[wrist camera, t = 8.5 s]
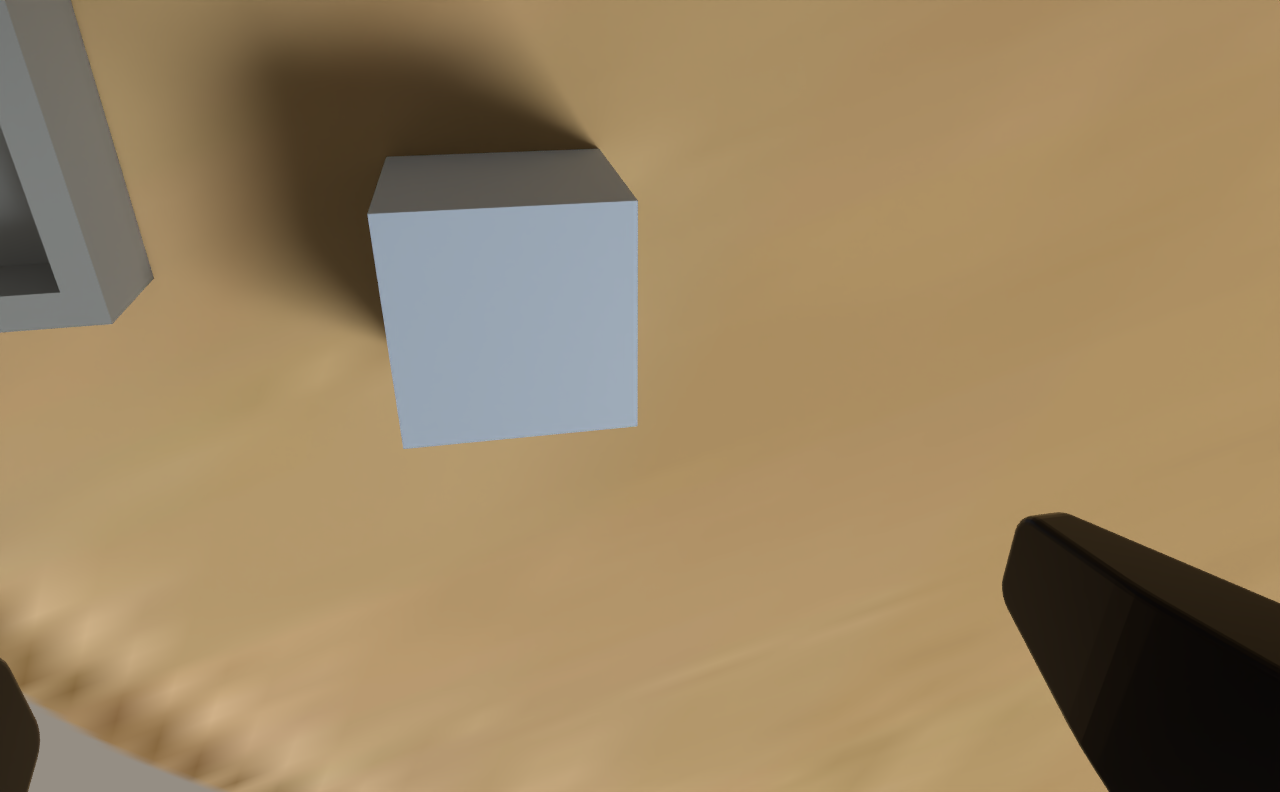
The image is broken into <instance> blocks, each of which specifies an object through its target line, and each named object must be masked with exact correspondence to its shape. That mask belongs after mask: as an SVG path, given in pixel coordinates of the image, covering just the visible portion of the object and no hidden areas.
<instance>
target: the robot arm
mask: <svg viewBox="0 0 1280 792" xmlns="http://www.w3.org/2000/svg"><path fill="white" fill-rule="evenodd" d="M1002 591H1003V597H1004V600H1005V604H1006V606H1007V608H1008V610H1009V612H1010V614H1011V616H1012V618H1013V620H1014V622H1015V624H1016V626H1017V628H1018V630H1019V632H1020V633H1021V635H1022V637H1023V639H1024V641H1025V643H1026V645H1027V647H1028V649H1029V651H1030V653H1031V655H1032V656H1033V658H1034V660H1035V662H1036V664H1037V666H1038V668H1039V670H1040V672H1041V674H1042V676H1043V678H1044V680H1045V681H1046V683H1047V685H1048V687H1049V689H1050V691H1051V693H1052V695H1053V697H1054V699H1055V701H1056V703H1057V704H1058V706H1059V708H1060V710H1061V712H1062V714H1063V716H1064V718H1065V720H1066V722H1067V724H1068V725H1069V727H1070V729H1071V731H1072V732H1073V734H1074V736H1075V738H1076V740H1077V741H1078V743H1079V745H1080V747H1081V748H1082V750H1083V752H1084V753H1085V755H1086V756H1087V758H1088V760H1089V761H1090V763H1091V765H1092V766H1093V768H1094V769H1095V771H1096V773H1097V774H1098V776H1099V777H1100V779H1101V780H1102V782H1103V783H1104V785H1105V786H1106V788H1107V790H1108V791H1109V792H1280V603H1278V602H1275V601H1273V600H1271V599H1268V598H1266V597H1264V596H1261V595H1259V594H1257V593H1254V592H1252V591H1250V590H1247V589H1245V588H1242V587H1240V586H1238V585H1235V584H1233V583H1231V582H1228V581H1226V580H1224V579H1221V578H1219V577H1217V576H1214V575H1212V574H1209V573H1207V572H1205V571H1202V570H1200V569H1198V568H1195V567H1193V566H1191V565H1188V564H1186V563H1184V562H1181V561H1179V560H1176V559H1174V558H1172V557H1169V556H1167V555H1165V554H1162V553H1160V552H1158V551H1155V550H1153V549H1151V548H1148V547H1146V546H1143V545H1141V544H1139V543H1136V542H1134V541H1132V540H1129V539H1127V538H1125V537H1122V536H1120V535H1118V534H1115V533H1113V532H1110V531H1108V530H1106V529H1103V528H1101V527H1099V526H1096V525H1094V524H1092V523H1089V522H1087V521H1085V520H1082V519H1080V518H1077V517H1075V516H1073V515H1070V514H1067V513H1061V512H1057V513H1049V514H1041V515H1034V516H1028V517H1026V518H1024V519H1022V520H1021V522H1020V523H1019V524H1018V525H1017V528H1016V530H1015V534H1014V538H1013V542H1012V545H1011V549H1010V553H1009V557H1008V561H1007V564H1006V568H1005V572H1004V576H1003V581H1002ZM39 745H40V734H39V728H38V724H37V721H36V719H35V717H34V715H33V713H32V711H31V709H30V707H29V705H28V703H27V701H26V699H25V697H24V695H23V693H22V691H21V689H20V687H19V685H18V683H17V681H16V679H15V677H14V675H13V673H12V671H11V670H10V668H9V666H8V665H7V663H6V662H5V661H4V660H2V659H1V658H0V792H28V789H29V786H30V782H31V779H32V775H33V772H34V768H35V765H36V761H37V757H38V753H39Z"/></svg>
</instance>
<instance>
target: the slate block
mask: <svg viewBox="0 0 1280 792" xmlns="http://www.w3.org/2000/svg"><path fill="white" fill-rule="evenodd" d="M367 215H368V222H369V228H370V235H371V241H372V248H373V254H374V261H375V267H376V274H377V280H378V287H379V293H380V300H381V306H382V312H383V319H384V325H385V332H386V338H387V345H388V351H389V358H390V364H391V371H392V377H393V384H394V390H395V397H396V403H397V410H398V416H399V423H400V429H401V436H402V442H403V449H408V448H418V447H428V446H438V445H449V444H459V443H469V442H480V441H490V440H500V439H510V438H521V437H531V436H541V435H552V434H562V433H572V432H582V431H593V430H603V429H613V428H624V427H634V426H637V351H638V200H637V199H636V198H635V196H634V195H633V194H632V192H631V191H630V190H629V188H628V187H627V186H626V184H625V183H624V182H623V180H622V179H621V178H620V176H619V175H618V173H617V172H616V171H615V169H614V168H613V167H612V165H611V164H610V163H609V161H608V160H607V159H606V157H605V156H604V155H603V153H602V152H601V151H600V149H576V150H550V151H524V152H498V153H472V154H445V155H419V156H393V157H386V159H385V162H384V165H383V168H382V171H381V174H380V177H379V180H378V183H377V186H376V189H375V192H374V195H373V198H372V201H371V204H370V207H369V210H368V214H367Z"/></svg>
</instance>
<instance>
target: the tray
mask: <svg viewBox="0 0 1280 792" xmlns="http://www.w3.org/2000/svg"><path fill="white" fill-rule="evenodd" d="M153 279H154V277H153V274H152V271H151V267H150V264H149V261H148V257H147V254H146V250H145V247H144V244H143V240H142V237H141V234H140V230H139V227H138V224H137V220H136V217H135V214H134V210H133V207H132V204H131V200H130V197H129V194H128V190H127V187H126V184H125V180H124V177H123V174H122V170H121V167H120V164H119V160H118V157H117V153H116V150H115V147H114V143H113V140H112V137H111V133H110V130H109V127H108V123H107V120H106V117H105V113H104V110H103V107H102V103H101V100H100V97H99V93H98V90H97V87H96V83H95V80H94V77H93V73H92V70H91V67H90V63H89V60H88V57H87V53H86V50H85V46H84V43H83V40H82V36H81V33H80V30H79V26H78V23H77V20H76V16H75V13H74V10H73V6H72V3H71V0H0V332H12V331H26V330H39V329H52V328H65V327H78V326H91V325H105V324H113V323H114V322H115V320H116V319H117V318H118V317H119V316H120V315H121V314H122V313H123V312H124V311H125V309H126V308H127V307H128V306H129V305H130V304H131V303H132V302H133V301H134V300H135V298H136V297H137V296H138V295H139V294H140V293H141V292H142V291H143V290H144V289H145V287H146V286H147V285H148V284H149V283H150V282H151V281H152V280H153Z"/></svg>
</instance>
